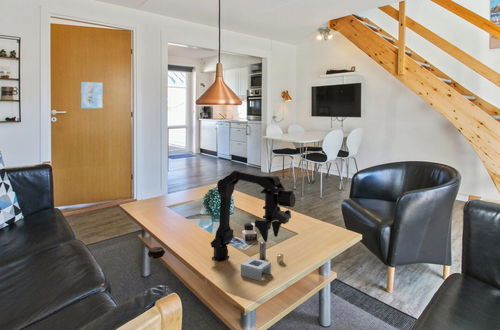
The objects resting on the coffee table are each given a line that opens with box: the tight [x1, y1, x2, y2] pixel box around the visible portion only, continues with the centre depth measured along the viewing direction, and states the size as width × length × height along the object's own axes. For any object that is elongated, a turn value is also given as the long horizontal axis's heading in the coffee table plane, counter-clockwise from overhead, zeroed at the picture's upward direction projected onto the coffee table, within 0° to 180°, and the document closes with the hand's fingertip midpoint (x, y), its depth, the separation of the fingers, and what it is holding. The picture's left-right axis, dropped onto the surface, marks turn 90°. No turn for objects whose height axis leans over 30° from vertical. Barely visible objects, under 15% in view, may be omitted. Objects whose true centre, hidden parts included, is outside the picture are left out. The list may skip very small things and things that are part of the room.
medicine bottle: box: [241, 222, 258, 242], centre depth 173 cm, size 7×7×12 cm
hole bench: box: [240, 257, 272, 282], centre depth 133 cm, size 10×9×5 cm
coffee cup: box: [147, 246, 166, 260], centre depth 154 cm, size 9×8×13 cm
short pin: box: [276, 253, 284, 264], centre depth 145 cm, size 3×3×4 cm
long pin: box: [259, 241, 267, 261], centre depth 148 cm, size 3×3×9 cm
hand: (270, 239), depth 133 cm, fingers open, 9 cm apart
